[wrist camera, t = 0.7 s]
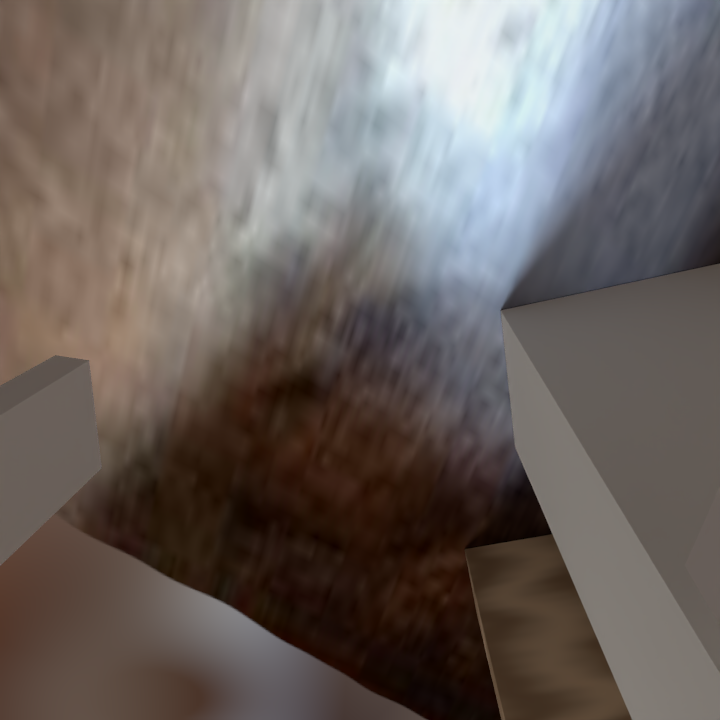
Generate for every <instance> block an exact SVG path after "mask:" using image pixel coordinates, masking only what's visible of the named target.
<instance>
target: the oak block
mask: <svg viewBox="0 0 720 720" xmlns="http://www.w3.org/2000/svg"><path fill="white" fill-rule="evenodd" d="M465 554H466V559H467V564H468V569H469V574H470V580H471V585H472V590H473V595H474V600H475V606H476V611H477V615H478V620H479V624H480V628H481V633H482V637H483V641H484V646H485V650H486V654H487V659H488V663H489V667H490V672H491V676H492V680H493V684H494V689H495V693H496V697H497V702H498V706H499V710H500V715H501V719H502V720H632V718H631V716H630V714H629V711H628V709H627V707H626V704H625V702H624V700H623V697H622V695H621V693H620V690H619V688H618V686H617V683H616V681H615V679H614V676H613V674H612V672H611V669H610V667H609V665H608V662H607V660H606V658H605V655H604V653H603V651H602V648H601V646H600V644H599V641H598V639H597V637H596V634H595V632H594V630H593V627H592V625H591V623H590V620H589V618H588V616H587V613H586V611H585V609H584V606H583V604H582V602H581V599H580V597H579V595H578V592H577V590H576V588H575V585H574V583H573V581H572V578H571V576H570V574H569V571H568V569H567V567H566V564H565V562H564V560H563V558H562V555H561V553H560V551H559V548H558V546H557V544H556V541H555V539H554V537H553V534H551V535H545V536H539V537H533V538H527V539H521V540H516V541H510V542H504V543H498V544H492V545H486V546H481V547H475V548H469V549H465Z"/></svg>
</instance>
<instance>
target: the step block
mask: <svg viewBox="0 0 720 720" xmlns="http://www.w3.org/2000/svg"><path fill="white" fill-rule="evenodd" d="M501 319H502V328H503V338H504V347H505V357H506V366H507V376H508V385H509V395H510V404H511V413H512V423H513V432H514V442H515V448H516V450H517V453H518V455H519V457H520V460H521V462H522V464H523V467H524V469H525V471H526V474H527V476H528V478H529V481H530V483H531V485H532V488H533V490H534V492H535V495H536V497H537V499H538V502H539V504H540V506H541V509H542V511H543V513H544V516H545V518H546V520H547V523H548V525H549V527H550V530H551V532H552V534H553V537H554V539H555V541H556V544H557V546H558V548H559V551H560V553H561V555H562V558H563V560H564V562H565V564H566V567H567V569H568V571H569V574H570V576H571V578H572V581H573V583H574V585H575V588H576V590H577V592H578V595H579V597H580V599H581V602H582V604H583V606H584V609H585V611H586V613H587V616H588V618H589V620H590V623H591V625H592V627H593V630H594V632H595V634H596V637H597V639H598V641H599V644H600V646H601V648H602V651H603V653H604V655H605V658H606V660H607V662H608V665H609V667H610V669H611V672H612V674H613V676H614V679H615V681H616V683H617V686H618V688H619V690H620V693H621V695H622V697H623V700H624V702H625V704H626V707H627V709H628V711H629V714H630V716H631V718H632V720H720V625H719V624H718V622H717V620H716V618H715V617H714V615H713V613H712V612H711V610H710V608H709V607H708V605H707V603H706V601H705V600H704V598H703V596H702V595H701V593H700V591H699V589H698V588H697V586H696V584H695V583H694V581H693V579H692V578H691V576H690V574H689V572H688V571H687V569H686V567H685V564H686V561H687V559H688V557H689V555H690V552H691V550H692V548H693V546H694V543H695V541H696V539H697V537H698V534H699V532H700V530H701V527H702V525H703V523H704V521H705V518H706V516H707V514H708V512H709V509H710V507H711V505H712V503H713V500H714V498H715V496H716V494H717V491H718V489H719V487H720V263H719V264H715V265H710V266H705V267H701V268H696V269H691V270H687V271H682V272H677V273H673V274H668V275H663V276H659V277H654V278H649V279H645V280H640V281H635V282H631V283H626V284H621V285H617V286H612V287H607V288H603V289H598V290H593V291H589V292H584V293H579V294H575V295H570V296H565V297H561V298H556V299H551V300H547V301H542V302H537V303H533V304H528V305H523V306H519V307H514V308H509V309H505V310H501Z"/></svg>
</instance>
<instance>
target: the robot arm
mask: <svg viewBox="0 0 720 720" xmlns="http://www.w3.org/2000/svg"><path fill="white" fill-rule="evenodd" d="M101 468H102V467H101V459H100V450H99V442H98V433H97V425H96V416H95V408H94V399H93V391H92V382H91V373H90V365H89V360H83V359H76V358H69V357H63V356H56V355H55V356H54V357H52V358H50V359H48V360H46V361H44V362H43V363H41V364H39V365H37V366H35V367H34V368H32V369H30V370H28V371H26V372H25V373H23V374H21V375H19V376H17V377H15V378H14V379H12V380H10V381H8V382H6V383H5V384H3V385H1V386H0V565H1V564H2V563H3V562H4V561H5V560H7V559H8V557H10V556H11V555H12V554H13V553H14V552H15V551H16V550H17V549H18V548H19V547H20V546H21V545H22V544H23V543H24V542H25V541H26V540H27V539H28V538H29V537H31V535H32V534H33V533H34V532H36V531H37V530H38V529H39V528H40V527H41V526H42V525H43V524H44V523H45V522H46V521H47V520H48V519H49V518H50V517H51V516H52V515H53V514H54V513H55V512H56V511H58V510H59V509H60V508H61V507H62V506H63V505H64V504H65V503H66V502H67V501H68V500H69V499H70V498H71V497H72V496H73V495H74V494H75V493H76V492H77V491H78V490H79V489H80V488H81V487H82V486H84V485H85V484H86V483H87V482H88V481H89V480H90V479H91V478H92V477H93V476H94V475H95V474H96V473H97V472H98V471H99V470H100V469H101ZM685 567H686V569H687V571H688V572H689V574H690V576H691V578H692V579H693V581H694V583H695V584H696V586H697V588H698V589H699V591H700V593H701V595H702V596H703V598H704V600H705V601H706V603H707V605H708V607H709V608H710V610H711V612H712V613H713V615H714V617H715V618H716V620H717V622H718V624H719V625H720V487H719V489H718V491H717V494H716V496H715V498H714V500H713V503H712V505H711V507H710V509H709V512H708V514H707V516H706V518H705V521H704V523H703V525H702V527H701V530H700V532H699V534H698V537H697V539H696V541H695V543H694V546H693V548H692V550H691V552H690V555H689V557H688V559H687V561H686V564H685Z"/></svg>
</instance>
